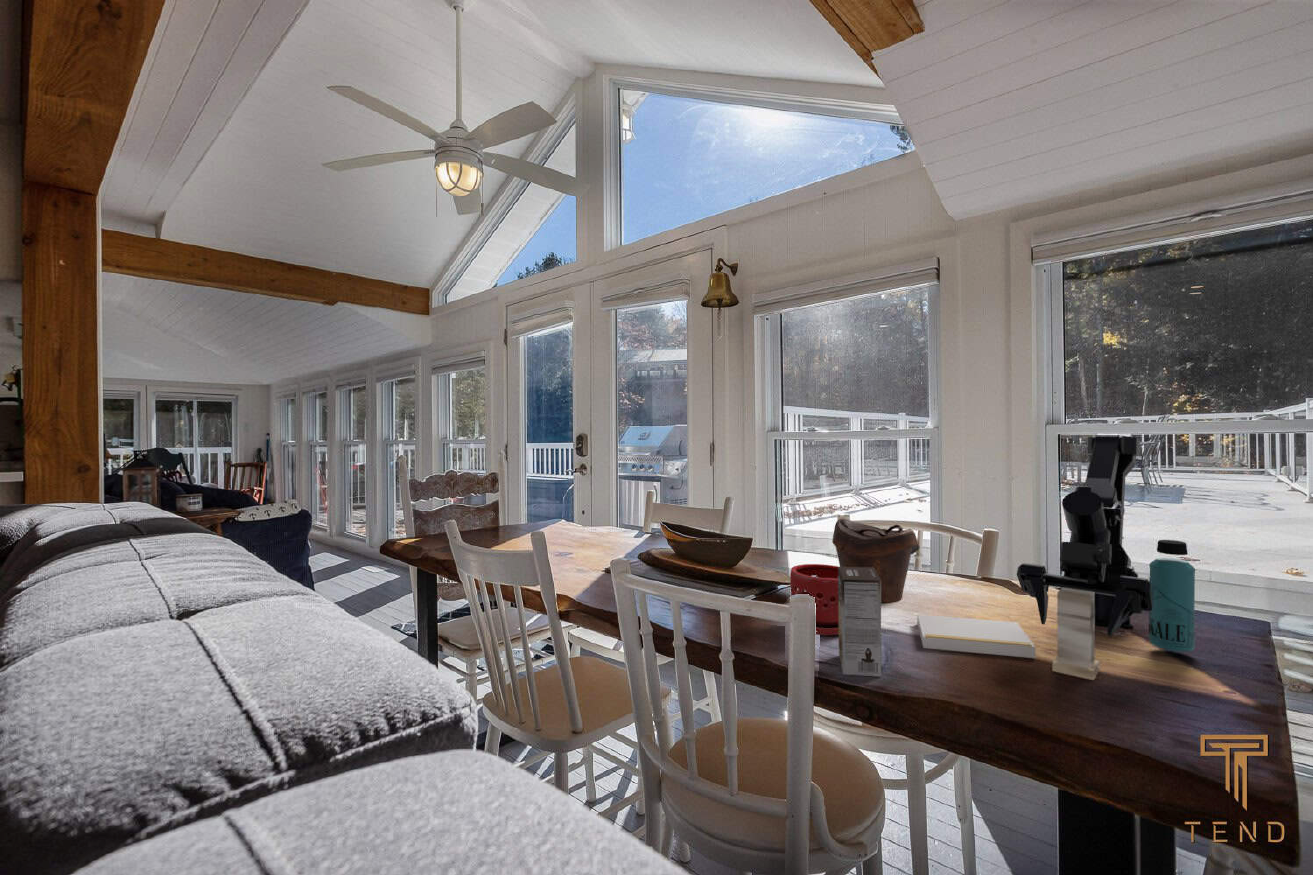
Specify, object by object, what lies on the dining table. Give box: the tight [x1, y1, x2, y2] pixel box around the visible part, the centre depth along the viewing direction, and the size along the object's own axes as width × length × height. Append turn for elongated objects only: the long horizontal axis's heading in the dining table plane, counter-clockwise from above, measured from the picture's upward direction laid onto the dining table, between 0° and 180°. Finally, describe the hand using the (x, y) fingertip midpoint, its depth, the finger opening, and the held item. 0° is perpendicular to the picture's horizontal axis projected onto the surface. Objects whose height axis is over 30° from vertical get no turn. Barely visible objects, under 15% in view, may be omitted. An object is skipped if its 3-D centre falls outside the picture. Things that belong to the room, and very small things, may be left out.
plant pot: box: [789, 563, 839, 636], centre depth 125 cm, size 13×13×12 cm
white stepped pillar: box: [1052, 587, 1101, 681], centre depth 102 cm, size 6×6×13 cm
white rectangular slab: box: [916, 614, 1036, 659], centre depth 118 cm, size 18×14×2 cm
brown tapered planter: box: [831, 518, 921, 603], centre depth 148 cm, size 18×20×18 cm
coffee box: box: [838, 566, 882, 678], centre depth 106 cm, size 9×6×16 cm
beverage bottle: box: [1148, 539, 1197, 652], centre depth 109 cm, size 6×7×20 cm
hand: (1074, 629), depth 102 cm, fingers open, 9 cm apart
